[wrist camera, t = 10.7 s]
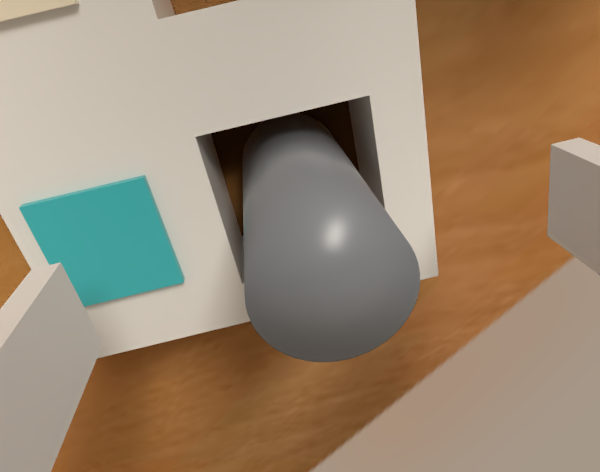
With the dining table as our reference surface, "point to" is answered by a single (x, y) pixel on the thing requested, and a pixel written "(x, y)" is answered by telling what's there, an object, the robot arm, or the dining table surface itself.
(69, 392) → the robot arm
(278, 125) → the plug
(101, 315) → the socket block
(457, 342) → the dining table surface
